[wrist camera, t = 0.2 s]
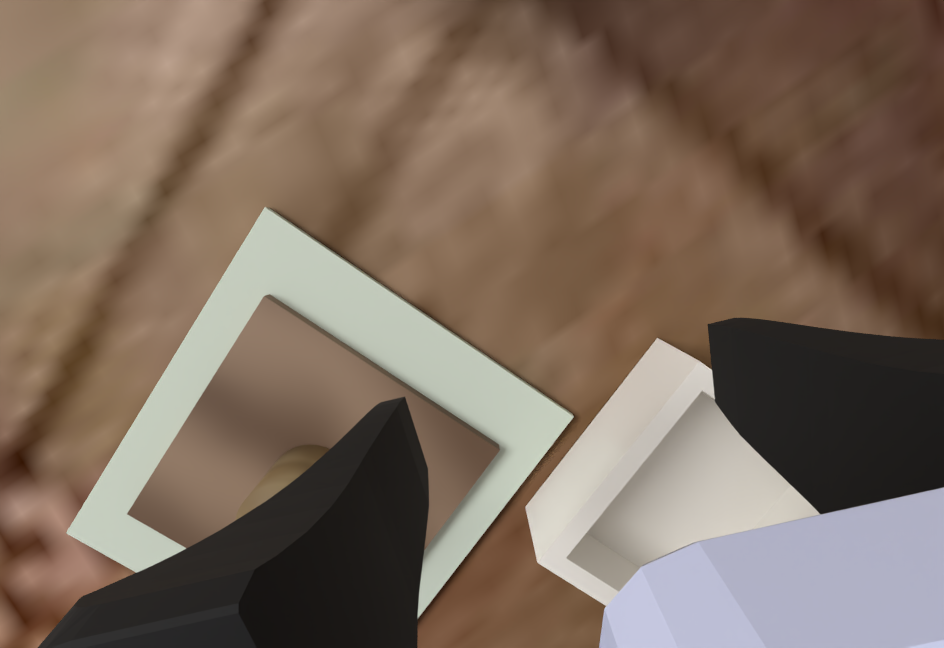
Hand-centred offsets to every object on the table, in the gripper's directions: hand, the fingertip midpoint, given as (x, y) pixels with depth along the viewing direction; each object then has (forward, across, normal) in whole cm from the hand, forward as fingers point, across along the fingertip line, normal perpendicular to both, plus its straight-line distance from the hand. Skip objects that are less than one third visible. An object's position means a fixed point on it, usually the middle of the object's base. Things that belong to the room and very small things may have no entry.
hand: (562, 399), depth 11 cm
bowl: (+9, -5, +11) cm, 15 cm away
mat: (+10, +11, +6) cm, 15 cm away
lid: (+9, +11, +6) cm, 15 cm away
